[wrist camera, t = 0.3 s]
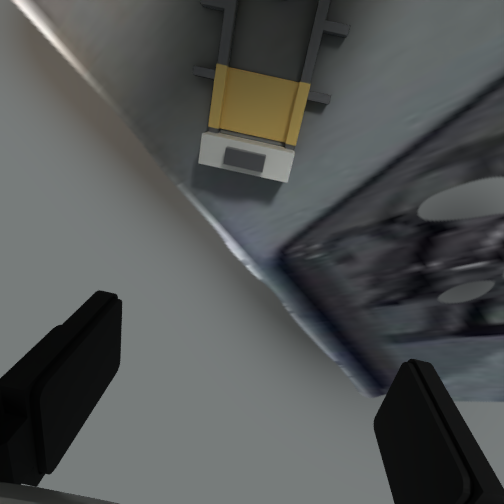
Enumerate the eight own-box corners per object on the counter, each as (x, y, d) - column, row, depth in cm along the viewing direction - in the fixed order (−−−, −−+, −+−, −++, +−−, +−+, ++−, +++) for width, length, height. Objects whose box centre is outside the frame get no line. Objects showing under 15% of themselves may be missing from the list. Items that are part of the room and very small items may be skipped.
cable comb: (216, -110, 28) (202, -154, 24) (376, -75, 28) (394, -112, 24) (186, 153, 38) (172, 160, 33) (307, 180, 38) (310, 190, 33)
